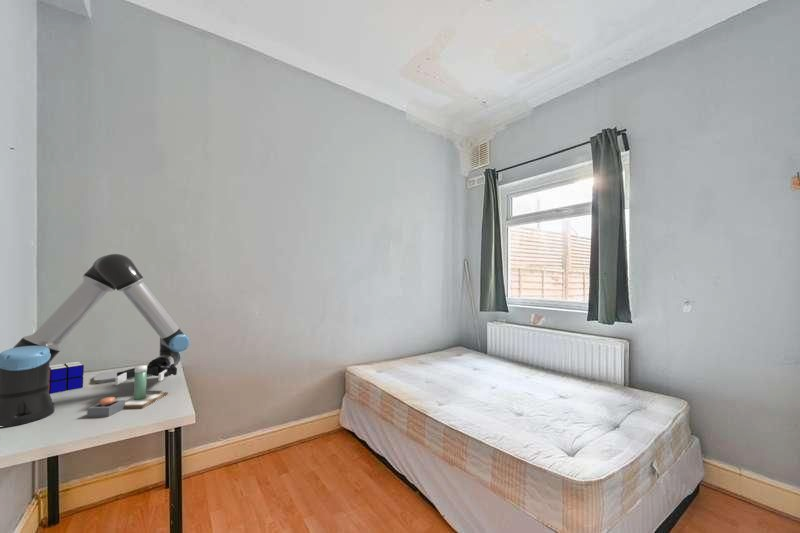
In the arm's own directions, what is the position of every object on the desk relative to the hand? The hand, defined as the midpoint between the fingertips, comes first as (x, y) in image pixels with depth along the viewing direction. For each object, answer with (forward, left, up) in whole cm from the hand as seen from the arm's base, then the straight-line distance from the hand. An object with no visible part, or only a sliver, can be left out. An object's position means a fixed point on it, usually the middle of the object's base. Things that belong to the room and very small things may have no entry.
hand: (138, 379), depth 121 cm
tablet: (+38, +31, -10) cm, 50 cm away
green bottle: (+2, +1, -8) cm, 8 cm away
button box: (-8, +5, -9) cm, 13 cm away
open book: (+2, 0, -9) cm, 9 cm away
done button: (-8, +5, -6) cm, 11 cm away
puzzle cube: (+20, +45, -9) cm, 50 cm away
